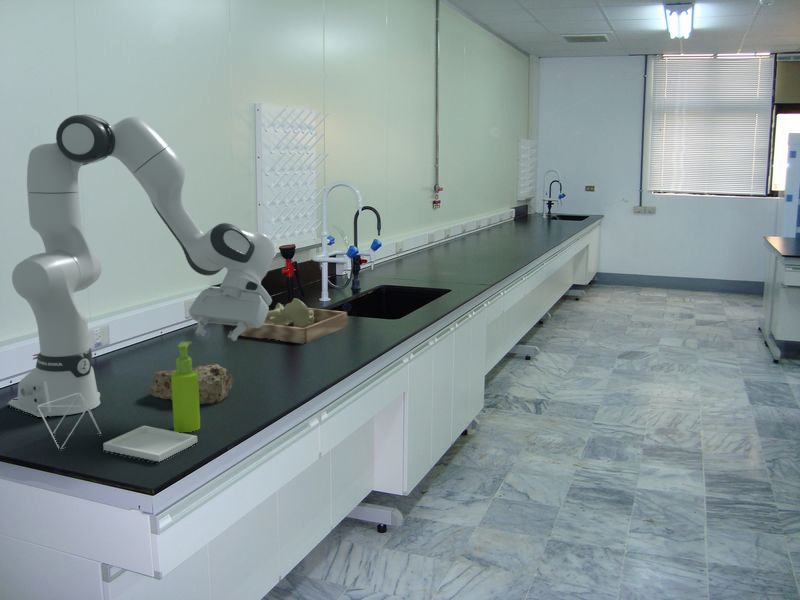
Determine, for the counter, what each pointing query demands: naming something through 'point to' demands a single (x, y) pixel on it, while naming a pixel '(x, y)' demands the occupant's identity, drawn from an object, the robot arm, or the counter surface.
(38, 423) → the counter surface
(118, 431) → the counter surface
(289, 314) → the pelvis bone
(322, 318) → the specimen frame
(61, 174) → the robot arm
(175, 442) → the tray
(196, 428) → the soap dispenser
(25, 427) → the counter surface
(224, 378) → the rock
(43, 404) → the geometric polyhedron
